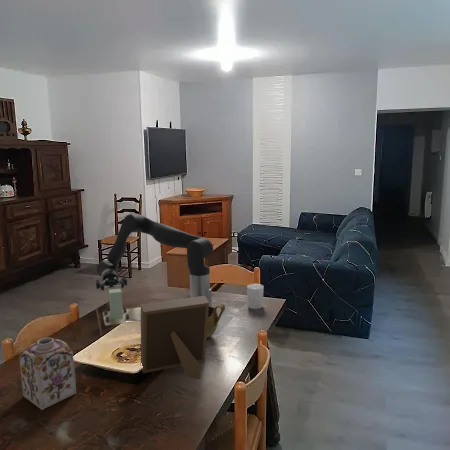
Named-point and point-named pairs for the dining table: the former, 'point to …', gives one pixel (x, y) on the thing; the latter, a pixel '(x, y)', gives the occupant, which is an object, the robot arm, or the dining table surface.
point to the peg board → (128, 315)
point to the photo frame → (174, 335)
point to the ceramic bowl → (213, 318)
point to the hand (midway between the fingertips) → (112, 287)
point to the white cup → (255, 296)
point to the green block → (115, 304)
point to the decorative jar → (47, 372)
